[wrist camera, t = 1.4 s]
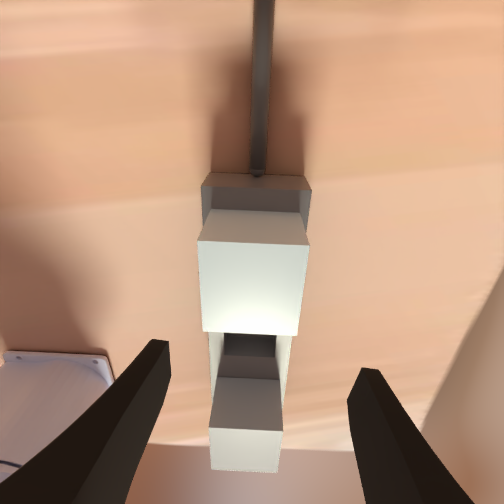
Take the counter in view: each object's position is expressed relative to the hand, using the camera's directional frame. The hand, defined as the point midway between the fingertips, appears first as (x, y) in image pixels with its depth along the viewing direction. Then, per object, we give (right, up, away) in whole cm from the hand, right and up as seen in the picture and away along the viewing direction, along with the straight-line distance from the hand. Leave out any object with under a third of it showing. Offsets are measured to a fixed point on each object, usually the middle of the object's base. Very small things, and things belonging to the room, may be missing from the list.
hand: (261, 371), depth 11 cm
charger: (0, +5, +8) cm, 10 cm away
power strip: (0, +4, +11) cm, 11 cm away
